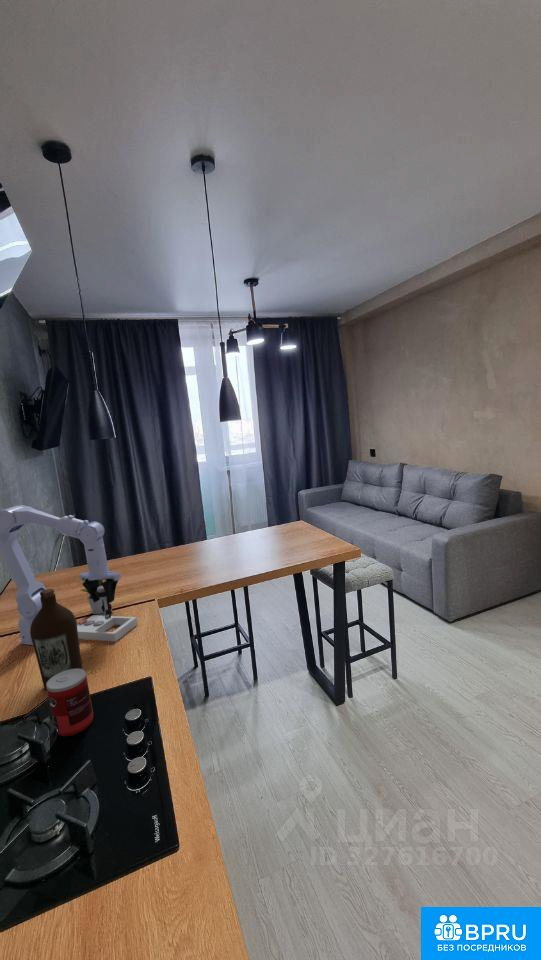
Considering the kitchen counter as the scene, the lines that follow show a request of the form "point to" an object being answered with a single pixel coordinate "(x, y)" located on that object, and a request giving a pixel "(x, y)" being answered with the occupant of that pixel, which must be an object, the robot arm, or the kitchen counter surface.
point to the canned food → (70, 701)
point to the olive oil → (55, 638)
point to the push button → (104, 602)
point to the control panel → (105, 627)
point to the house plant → (95, 605)
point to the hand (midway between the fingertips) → (103, 601)
